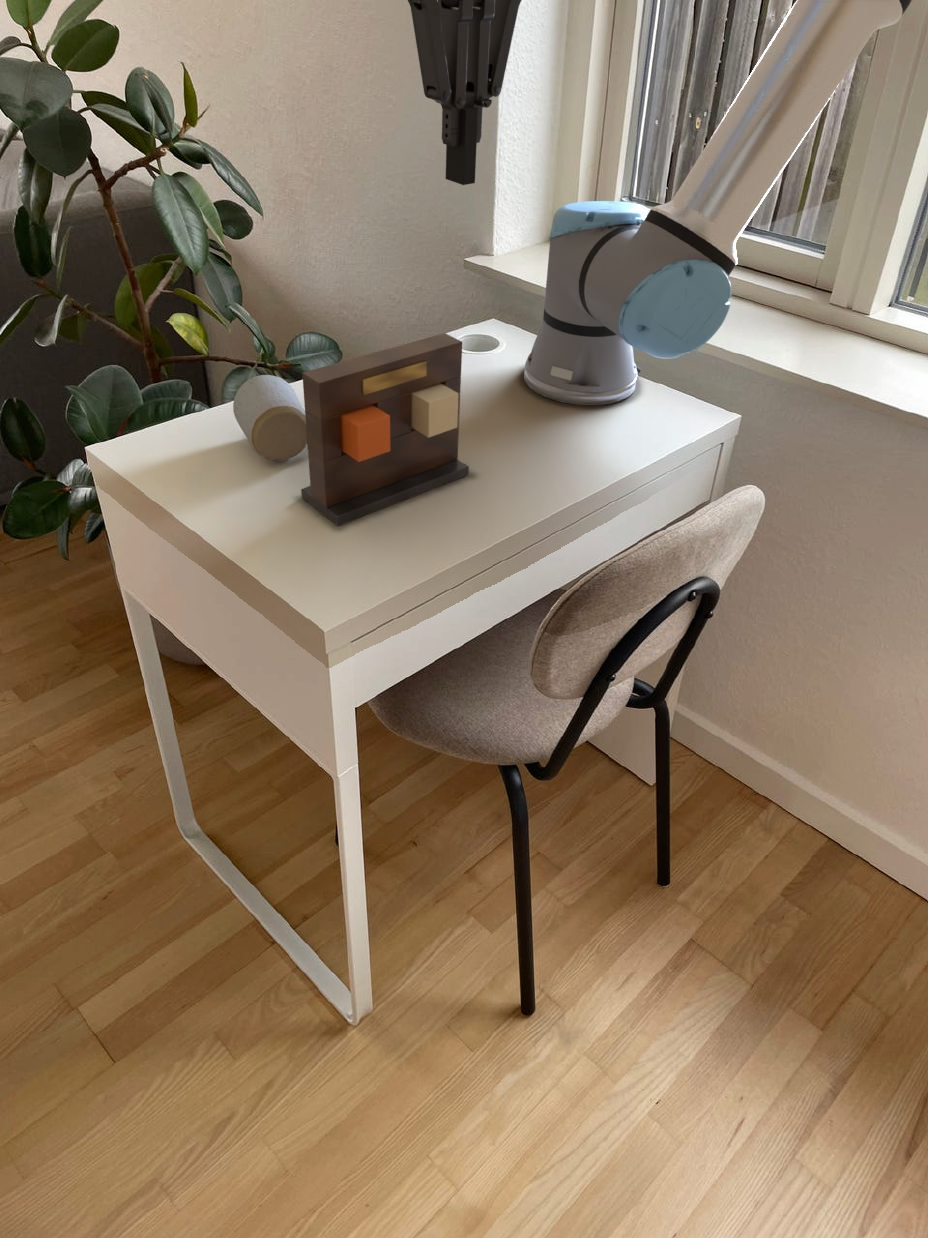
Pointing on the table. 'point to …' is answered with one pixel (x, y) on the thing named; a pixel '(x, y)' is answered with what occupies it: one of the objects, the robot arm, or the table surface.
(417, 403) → the beige key
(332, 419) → the brown wooden upright panel
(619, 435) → the table surface
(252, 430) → the ceramic mug
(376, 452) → the orange key
